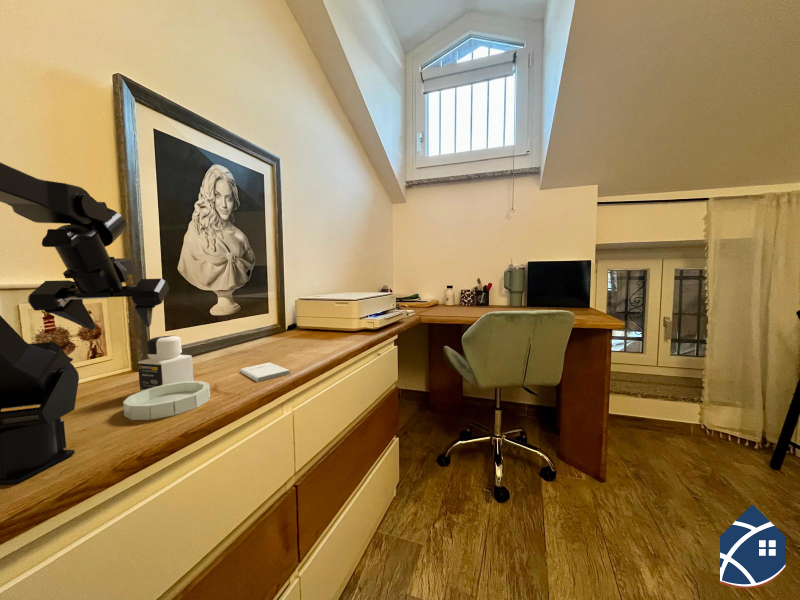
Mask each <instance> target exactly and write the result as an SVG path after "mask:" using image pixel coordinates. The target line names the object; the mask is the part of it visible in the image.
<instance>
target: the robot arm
mask: <svg viewBox="0 0 800 600" xmlns="http://www.w3.org/2000/svg"><path fill="white" fill-rule="evenodd" d="M0 203H3V204H6V205H8V206H10V207H11V208H12V209H11V210H12V212H13V213H15V214H16V215H19V216H21V217H23V218H24V219H27V220H29V221H32V222H34V223H36V224H37V223H38V224H65V225H61V226H59V227H57V228H56V229H55V228H48V229H46V231H47V232H46V235H45V236H44V237H42V241H41V246H42V247H44V248H54V249H55V250H56V252H57V254H58V255H59V257H60V259H61V261H62V263H63V264H64V266H65V269H66V270H64V271H63V272H62V275H63V276H64V278H65V279H72V280H45V281H43V283H42V284H40V285H39V286H37V288H35V289H34V290H33V291H32V292H31V293H30V294H29V295H28V297H27V302H28V304H29V305H30V307H31V308H32V309H33V310H34V311H44V312H45V314H53V315H56V316H57V317H60V318H63V319H65V320H68V321H70V322H72V323H75V324H77V325H79V326H81V327H83V328H85V329H87V330H88V331H93V330H95V329H96V324H95V321H94V319H93V318H92V316H91V313H90V312H89V311H88V310H87V307H86V306H85V304H84V303H83V302H84V301H83V300H92V299H93V300H95V299H97V300H98V299H108V298H124V297H125V298H127V297H128V298H129V297H131V300H132V301H133V303H134V304H136V305H135V307H134V309H135V311H136V312H137V314H138V315H139V317H140V319H141V321H142V323H143V324H144V325H145V326H146V327H147V328H150V327H151V325H152V318H153V309H155V308H156V306H159V305H161V304H163V301H164V299H165V298H166V296H167V294H168V292H169V291H170V286H169V284H168V282H167V280H165V279H163V278H140V280H139V281H138V283H137V284H136V285H123V283H126V282H127V281H128V280H129V278H128V276H130V275H134V274H135V272H134V270H135V269H134V266H133V261H132V258H127V257H126V258H116V257H115V256H110V255H109V253H108V251H107V249H106V247H108V246H110V245H112V244H113V243H114V242H115V241H116V240H117V239H118V238H120V236H121V235H122V234H123V233H124V232H125V231H126V230H127V228H128V227H127V220H126V218H125V217H123V216H122V215H121V214H120V213H119V212H117V211H115V210H113V209H112V208H109V207H108V206H107V203H106V202H105V201H97V200H96V199H95V198H94V197H92V196H91V195H90V193H88V191H87V190H86V189H84V188H83V187H81V186H78V185H74V184H70V183H65V182H58V181H52V180H45V179H41V178H37V177H35V176H33V175H30V174H28V173H26V172H23V171H21V170H19V169H17V168H13V167H12V166H9V165H7V164H5V163H2V162H0ZM73 360H74V359H73V357H71V356H68V355H67V353H66V352H65V351H64V350H63V348H62V346H61V345H59V344H58V343H56V342H55V341H47V342H34V343H28V342H27V341H25V340H24V338H23V337H22V336H21V335H20V334H19V333H18V332H17V331H16V330H15V329H14V328H13V327H12V326H11V325H10V324H9V323H8V321H6V319H4V318H3V317H2V315H0V484H1V485H2V484H7V485H8V484H9V485H10V484H12V485H13V484H18V483H20V482H22V481H24V480H26V479H28V478H30V477H32V476H33V475H36V474H37V473H40V472H41V471H44V470H45V469H47V468H50V467H52V466H53V465H56V464H57V463H60V462H61V461H63V460H65V459H67V458H69V457H71V456H72V455H74V454H75V453H76V451H75V449H66V448H67V438H66V427H65V420H63V419H62V417H64V416H66V415H67V414H69V413H71V412H73V411H74V410H75V407H76V401H77V395H78V393H77V392H78V389H79V388H78V387H79V381H80V375H79V372H78V370H77V369H76V368H75V366H74V365H73V364H72V362H73ZM31 406H38V407H31ZM23 407H28V408H23ZM14 408H19V409H14ZM20 408H22V409H20ZM5 409H6V410H5ZM7 409H12V410H7ZM2 410H4V411H2Z"/></svg>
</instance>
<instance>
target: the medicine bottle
mask: <svg viewBox="0 0 800 600" xmlns="http://www.w3.org/2000/svg"><path fill="white" fill-rule="evenodd" d="M146 347H147V348H146V349H147V357H148V358H146V359H143V360H139V361H138V362H137V368H138V379H139V381H138V383H139V392H141V391H143V390H146V389H149V388H153V387H157V386H161V385H166V384H171V383H178V382H184V381H185V382H186V381H195V380H194V369H193V367H194V366H193V356H192V355H190V354H182V352H183V350H182V338H181V337H180V336H177V335H162V336H155V337H152V338H150V339H149V340H147V341H146Z"/></svg>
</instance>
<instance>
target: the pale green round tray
mask: <svg viewBox="0 0 800 600" xmlns="http://www.w3.org/2000/svg"><path fill="white" fill-rule="evenodd" d="M210 386H211V385H210V383H209V382H206V381H203V380H194V381H186V382H185V381H184V382H178V383H171V384H166V385H161V386H157V387H153V388H149V389H146V390H143V391H141V392H140V391H138V392H136V393H134V394H131V395H129V396H127V398H125V400H124V401H123V402H122V403H123V405H122V406H123V415H124V417H125V418H127V419H129V420H130V421H150V420H156V419H161V418H167V417H172V416H175V415H181V414H183V413H185V412H189V411H191V410H194V409H196V408H199V407H200V406H203V405H204V404H206V403H207V402H209V400H210V398H211V387H210Z"/></svg>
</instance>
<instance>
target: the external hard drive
mask: <svg viewBox="0 0 800 600" xmlns="http://www.w3.org/2000/svg"><path fill="white" fill-rule="evenodd" d="M239 373H241V374H243V375H245V376H246V377H248V378H249V379H252V380H253V381H255V382H257V383H259V382H262V381H267V379H268V380H272V379H275V377H276V378H279V376H280V377H283V376H282V375H284V376H287V375H286V374H288V375H290V374H291V370H289V369H287V368H284V367H282V366H281V365H277V364H274V363H272V362H266V363H261V364H256V365H251V366H246V367H242V368H240V369H239ZM271 378H272V379H271Z"/></svg>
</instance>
